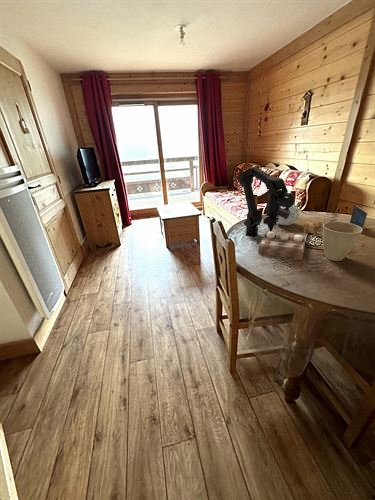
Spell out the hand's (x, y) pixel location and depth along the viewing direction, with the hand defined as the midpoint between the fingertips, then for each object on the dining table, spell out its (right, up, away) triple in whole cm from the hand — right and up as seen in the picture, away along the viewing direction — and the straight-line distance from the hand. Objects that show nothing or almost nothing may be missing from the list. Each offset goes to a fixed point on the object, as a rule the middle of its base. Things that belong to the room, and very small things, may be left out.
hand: (271, 231), depth 120 cm
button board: (+5, -9, -2) cm, 11 cm away
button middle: (+7, -5, -1) cm, 8 cm away
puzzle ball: (+21, +7, +28) cm, 35 cm away
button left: (0, -4, +2) cm, 5 cm away
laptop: (+51, +2, +15) cm, 54 cm away
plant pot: (+25, -15, -15) cm, 33 cm away
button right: (+13, -6, -5) cm, 15 cm away
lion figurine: (+29, -1, +11) cm, 31 cm away
